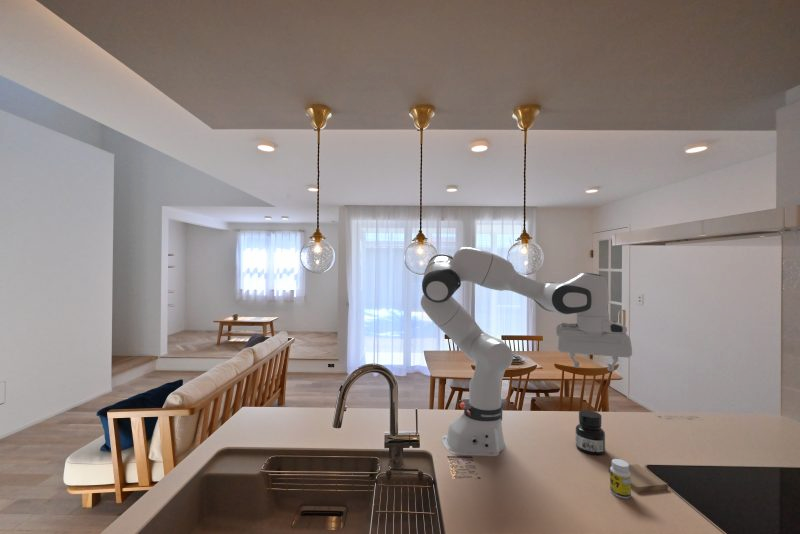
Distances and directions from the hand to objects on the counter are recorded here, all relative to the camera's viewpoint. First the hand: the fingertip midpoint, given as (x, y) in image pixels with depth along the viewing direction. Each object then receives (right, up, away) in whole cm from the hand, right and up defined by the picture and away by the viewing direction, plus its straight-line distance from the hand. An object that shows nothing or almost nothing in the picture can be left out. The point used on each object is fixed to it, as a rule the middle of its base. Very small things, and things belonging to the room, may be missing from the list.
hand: (593, 368), depth 106 cm
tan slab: (+9, -31, -7) cm, 33 cm away
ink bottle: (+5, -31, +10) cm, 33 cm away
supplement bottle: (0, -30, -13) cm, 33 cm away
